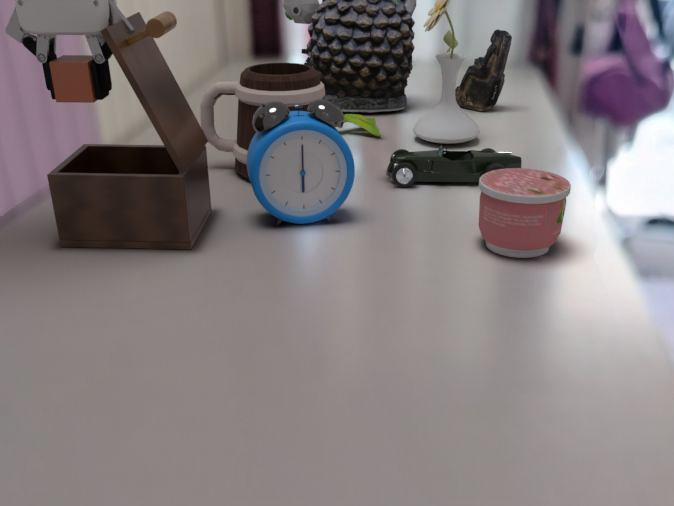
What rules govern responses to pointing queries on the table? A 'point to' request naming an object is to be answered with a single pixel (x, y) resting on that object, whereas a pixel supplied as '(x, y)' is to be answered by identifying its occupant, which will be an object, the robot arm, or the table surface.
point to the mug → (259, 101)
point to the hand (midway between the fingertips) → (80, 95)
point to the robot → (301, 15)
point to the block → (73, 78)
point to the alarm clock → (300, 161)
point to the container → (521, 210)
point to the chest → (129, 198)
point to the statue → (485, 75)
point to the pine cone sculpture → (363, 52)
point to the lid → (157, 85)
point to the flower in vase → (446, 94)
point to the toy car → (447, 165)
